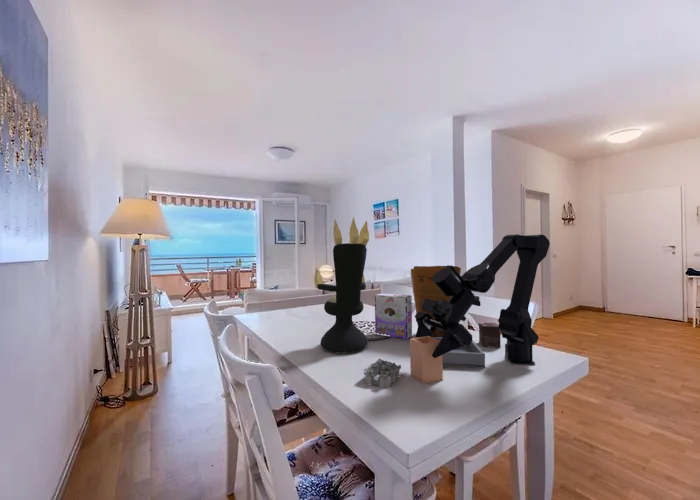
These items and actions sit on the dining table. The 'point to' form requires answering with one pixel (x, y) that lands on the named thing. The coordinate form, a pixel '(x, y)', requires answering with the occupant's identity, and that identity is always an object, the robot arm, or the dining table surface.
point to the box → (489, 335)
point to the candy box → (393, 315)
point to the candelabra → (346, 291)
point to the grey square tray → (464, 356)
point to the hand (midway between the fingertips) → (422, 351)
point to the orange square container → (425, 360)
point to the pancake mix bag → (427, 289)
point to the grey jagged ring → (382, 373)
